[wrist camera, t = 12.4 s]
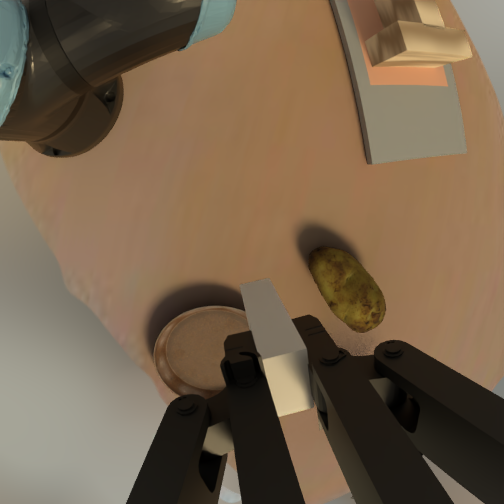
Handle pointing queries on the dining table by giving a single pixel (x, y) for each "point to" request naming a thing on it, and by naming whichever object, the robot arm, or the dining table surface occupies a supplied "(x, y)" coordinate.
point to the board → (398, 96)
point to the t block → (415, 36)
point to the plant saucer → (196, 349)
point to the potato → (347, 288)
